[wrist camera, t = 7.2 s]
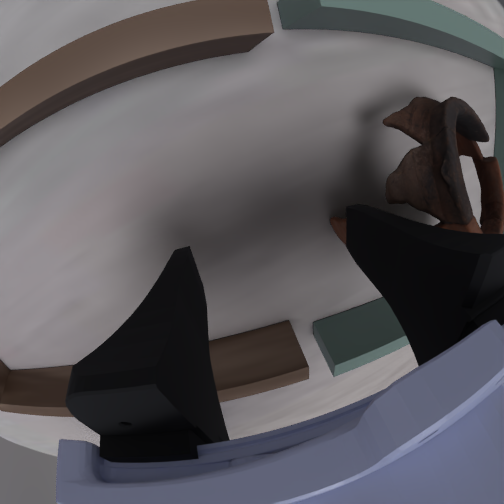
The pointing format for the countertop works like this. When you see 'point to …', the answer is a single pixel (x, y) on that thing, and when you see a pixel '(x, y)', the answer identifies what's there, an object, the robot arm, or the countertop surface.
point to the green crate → (419, 30)
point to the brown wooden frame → (115, 72)
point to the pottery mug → (443, 167)
